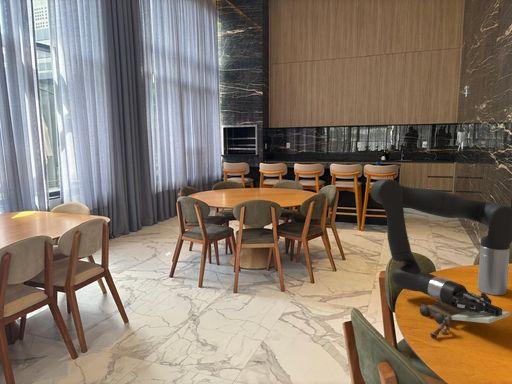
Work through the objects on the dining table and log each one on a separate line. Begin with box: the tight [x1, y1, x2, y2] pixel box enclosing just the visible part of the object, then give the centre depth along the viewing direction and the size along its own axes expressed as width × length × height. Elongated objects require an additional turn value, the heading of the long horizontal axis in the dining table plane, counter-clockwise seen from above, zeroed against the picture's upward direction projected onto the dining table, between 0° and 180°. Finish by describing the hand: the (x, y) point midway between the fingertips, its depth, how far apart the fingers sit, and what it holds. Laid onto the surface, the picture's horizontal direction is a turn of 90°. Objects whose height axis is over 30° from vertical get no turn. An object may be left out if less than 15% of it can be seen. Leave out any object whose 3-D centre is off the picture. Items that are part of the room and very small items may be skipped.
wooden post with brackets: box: [430, 318, 451, 340], centre depth 113 cm, size 2×8×4 cm, turn 123°
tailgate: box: [451, 310, 511, 324], centre depth 114 cm, size 10×1×12 cm
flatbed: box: [419, 301, 465, 325], centre depth 124 cm, size 14×10×3 cm
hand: (500, 312), depth 108 cm, fingers closed
